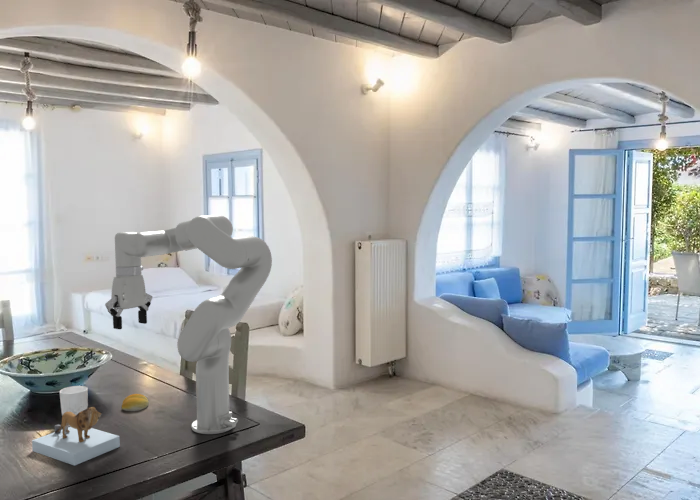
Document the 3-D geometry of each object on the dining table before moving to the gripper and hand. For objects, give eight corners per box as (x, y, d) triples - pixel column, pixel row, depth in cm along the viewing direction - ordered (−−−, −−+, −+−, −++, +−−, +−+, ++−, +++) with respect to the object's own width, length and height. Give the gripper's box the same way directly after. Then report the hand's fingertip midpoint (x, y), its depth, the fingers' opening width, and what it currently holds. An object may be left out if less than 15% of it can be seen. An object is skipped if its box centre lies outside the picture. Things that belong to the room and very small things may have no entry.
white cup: (94, 419, 191) (93, 387, 190) (73, 427, 184) (72, 395, 183) (76, 415, 195) (75, 384, 194) (55, 423, 188) (53, 391, 187)
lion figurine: (105, 437, 169) (103, 405, 168) (91, 444, 164) (90, 411, 163) (62, 430, 174) (60, 399, 173) (47, 437, 169) (45, 405, 168)
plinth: (119, 446, 170) (119, 429, 170) (74, 465, 158) (73, 446, 158) (78, 434, 179) (77, 417, 179) (32, 451, 167) (31, 433, 167)
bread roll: (121, 413, 197) (120, 401, 197) (123, 404, 206) (122, 392, 205) (148, 410, 199) (147, 398, 199) (149, 402, 208) (149, 390, 208)
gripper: (142, 268, 201) (143, 320, 203) (97, 274, 186) (99, 329, 188) (158, 269, 198) (160, 322, 199) (113, 275, 183) (115, 332, 184)
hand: (130, 325), depth 194 cm, fingers open, 9 cm apart
